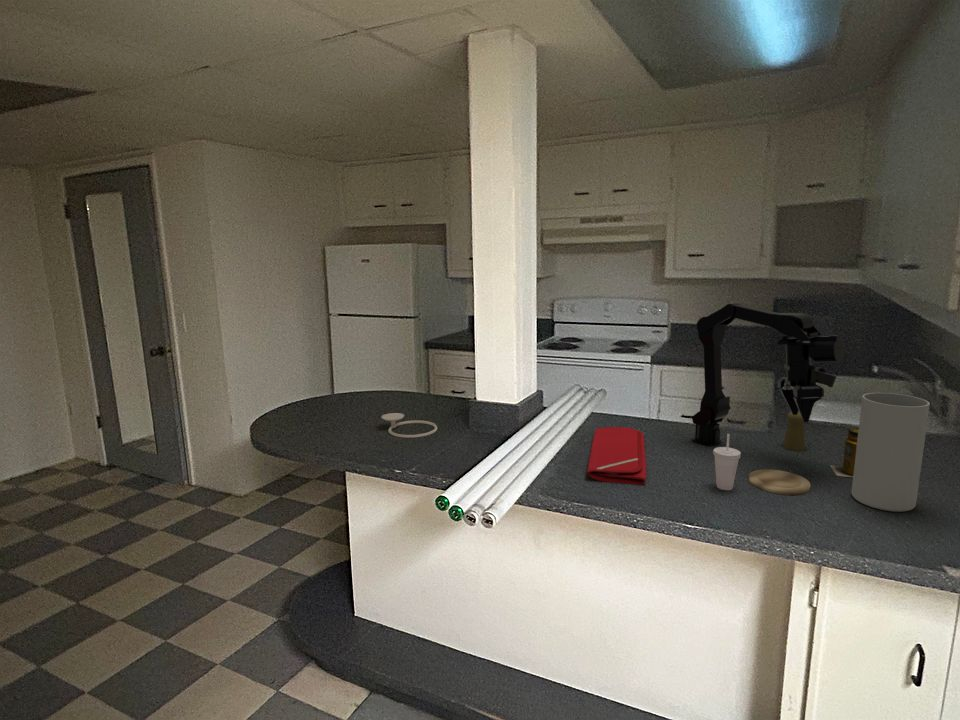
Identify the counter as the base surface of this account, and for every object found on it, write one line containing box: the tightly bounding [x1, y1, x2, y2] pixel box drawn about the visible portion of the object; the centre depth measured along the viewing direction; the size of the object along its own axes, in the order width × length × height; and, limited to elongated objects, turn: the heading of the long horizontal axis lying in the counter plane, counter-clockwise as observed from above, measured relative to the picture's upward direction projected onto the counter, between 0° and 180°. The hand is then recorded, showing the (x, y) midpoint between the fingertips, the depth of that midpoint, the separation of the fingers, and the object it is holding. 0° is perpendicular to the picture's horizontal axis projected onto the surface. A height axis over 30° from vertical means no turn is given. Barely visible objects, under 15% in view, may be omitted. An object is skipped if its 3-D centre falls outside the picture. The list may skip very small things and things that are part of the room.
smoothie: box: [712, 433, 742, 491], centre depth 142 cm, size 6×6×14 cm
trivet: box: [748, 469, 811, 496], centre depth 145 cm, size 14×14×1 cm
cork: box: [782, 411, 806, 452], centre depth 170 cm, size 6×6×11 cm
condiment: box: [829, 427, 859, 478], centre depth 150 cm, size 7×8×12 cm
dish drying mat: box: [586, 426, 647, 486], centre depth 167 cm, size 16×41×4 cm, turn 165°
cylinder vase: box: [851, 392, 931, 513], centre depth 132 cm, size 12×12×25 cm
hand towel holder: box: [380, 412, 438, 439], centre depth 195 cm, size 17×4×20 cm
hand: (800, 418), depth 153 cm, fingers open, 9 cm apart
